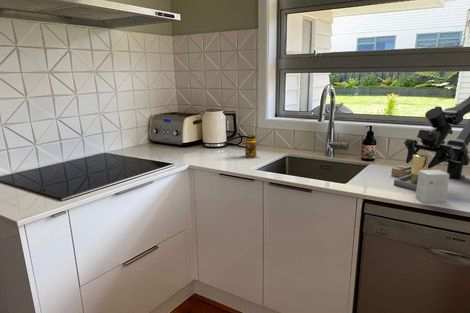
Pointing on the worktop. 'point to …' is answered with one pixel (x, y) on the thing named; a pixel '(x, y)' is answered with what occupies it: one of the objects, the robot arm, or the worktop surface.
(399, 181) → the tray
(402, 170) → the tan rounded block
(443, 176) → the small box
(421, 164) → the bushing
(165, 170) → the worktop surface
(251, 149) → the condiment
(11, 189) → the worktop surface
